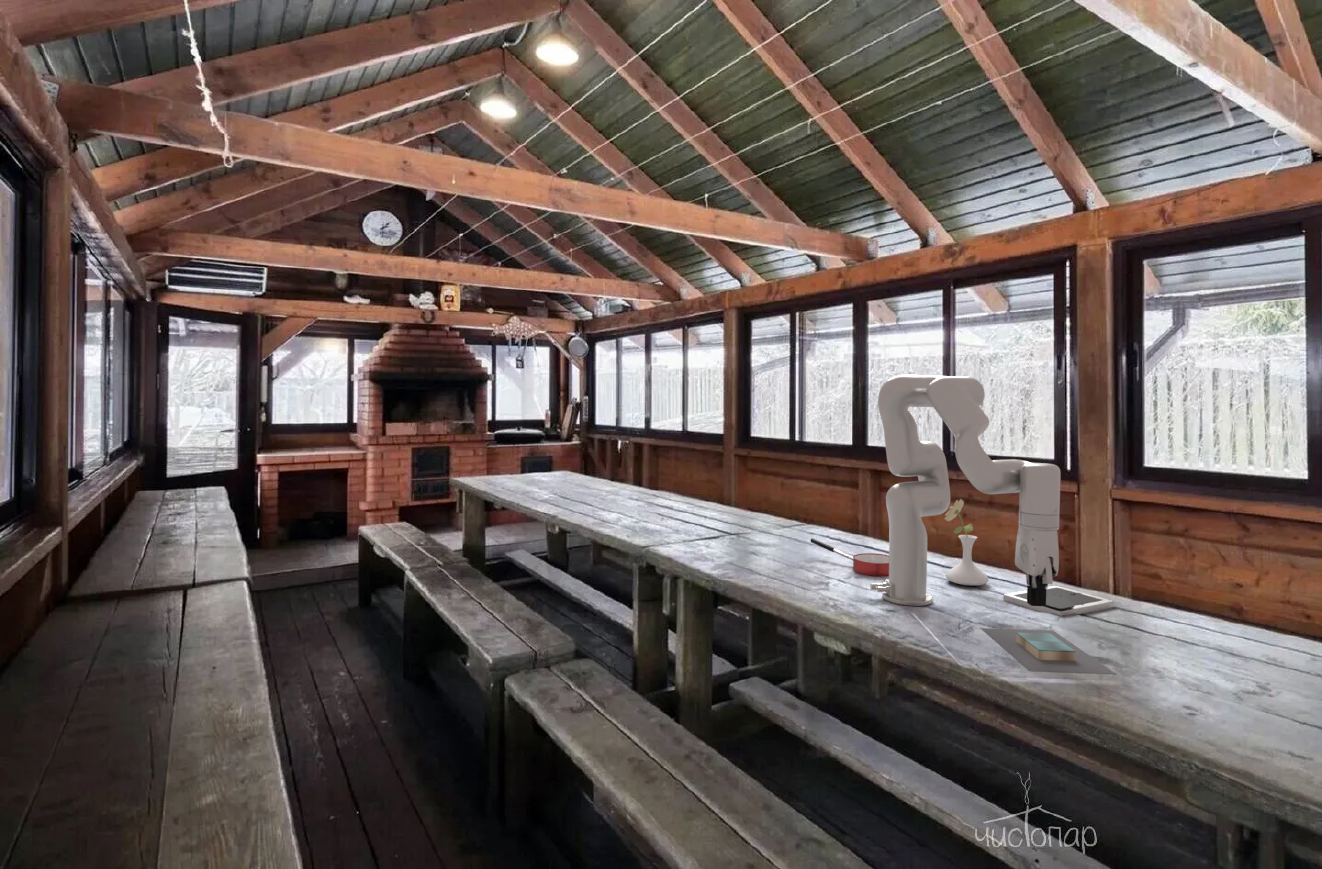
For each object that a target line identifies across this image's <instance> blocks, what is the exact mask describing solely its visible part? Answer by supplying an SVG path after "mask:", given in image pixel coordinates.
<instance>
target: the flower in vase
mask: <svg viewBox="0 0 1322 869" xmlns="http://www.w3.org/2000/svg"><path fill="white" fill-rule="evenodd" d="M964 506H965V501H964V500H963V499H962V498H959V500H958V499H957V500H955V502H954V503H953V506H952V505H951V506H950V505H949V507H948V509H949V510H947V512H946V513H945V514H944V516H945V517H944V521H945V520H946V521H947V522H950V521H952V520H954V519H955V518H956V517H957V516H958V517H959V519H960V522H961V525H960V526H958V527H956V528H955V529H954V530H953V534H956V535H957V534H960V533H961V532H962V531H964V533H965V534H960V535H958V538H959V540H960V541H961V546H962V559H961V562H960V563H958V564H957V565H955V566H953V567H952V568H950V569H949V570H948V571H947V572H946V573H945V578H946V579H947V580H948V581H949V582H952V583H954V584H959V585H963V586H971V587H972V586H982V585H986V584H987V583H988V582H989V578H988V576H987V575H986V573H984V572H983V570H981V569H980V568H979V567H978V566H976V565H975V563H974V561H973V559H972V553H973V552H972V550H973V546H974V543H975V541H977V539H978V536H976V535H969V534H968V533H971V532H973V531H974V526H973V523H969V524H966V525H965V524H964V521H963V518H962V516H961V514H960V512H961V511H962V509H963V508H964ZM964 525H965V526H964Z"/></svg>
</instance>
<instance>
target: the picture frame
mask: <svg viewBox="0 0 1322 869" xmlns="http://www.w3.org/2000/svg"><path fill="white" fill-rule="evenodd" d="M1002 599H1003V601H1005V602H1008V603H1011V604H1014V605H1018V606H1019V607H1020V606H1021V607H1024V608H1027V609H1031V610H1034V611H1037V612H1039V613H1042V614H1043V613H1044V614H1048V613H1049V614H1053V615H1056V616H1061V617H1062V616H1066V615H1071V614H1077V615H1083V614H1087V613H1092V612H1097V611H1102V610H1107V609H1111V608H1113V609H1114V608H1115V607H1114V606H1115V601H1114V600H1111V599H1107V598H1104V597H1100V596H1097V595H1092V594H1089V593H1085V592H1081V591H1078V590H1074V589H1071V588H1066V587H1063V586H1059V585H1051V586H1050V585H1048V588H1047V589H1046V606H1031V605H1030V604H1028V603H1027V589H1026V590H1020V591H1015V592H1009V593H1004V594H1003V597H1002Z"/></svg>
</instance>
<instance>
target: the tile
mask: <svg viewBox="0 0 1322 869" xmlns="http://www.w3.org/2000/svg"><path fill="white" fill-rule="evenodd" d="M1016 642H1018V643H1019V644H1020V645H1021V646H1023V647H1024V648H1025V649H1026V650H1027V651H1029V652H1030V653H1031V654H1032V655H1034V656H1035V657H1036V658H1037V659H1039V660H1064V661H1075V651H1074V650H1073V649H1072V648H1070V647H1069V646H1067V645H1066V644H1064V643H1063V642H1062V641H1060V640H1059V639H1057V638H1056V637H1054V636H1053V635H1052V634H1049V633H1017V637H1016Z"/></svg>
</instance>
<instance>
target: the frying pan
mask: <svg viewBox="0 0 1322 869" xmlns="http://www.w3.org/2000/svg"><path fill="white" fill-rule="evenodd" d="M810 543H812V544H814V545H816V546H818V547H820V548H823V549H825V550H827V551H829V552H832V553H835V554H838V555H840V556H842V557H845V558H846V559H849V560H850V561H853V562H852V564H853V565H852V569H853V571H854V573H856V572H857V573H856V574H858V575H863V576H867V577H874V578H889V554H883V553H875V552H874V553H873V552H867V553H858V554H855V555H853V556H852V555H849V554H848V553H845V552H843V551H841V550H838V549H836V548H835V547H833V546H831V545H829V544H826V543H824V542H823V541H820V540H817V539H816V538H812V537H811V538H810Z"/></svg>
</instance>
